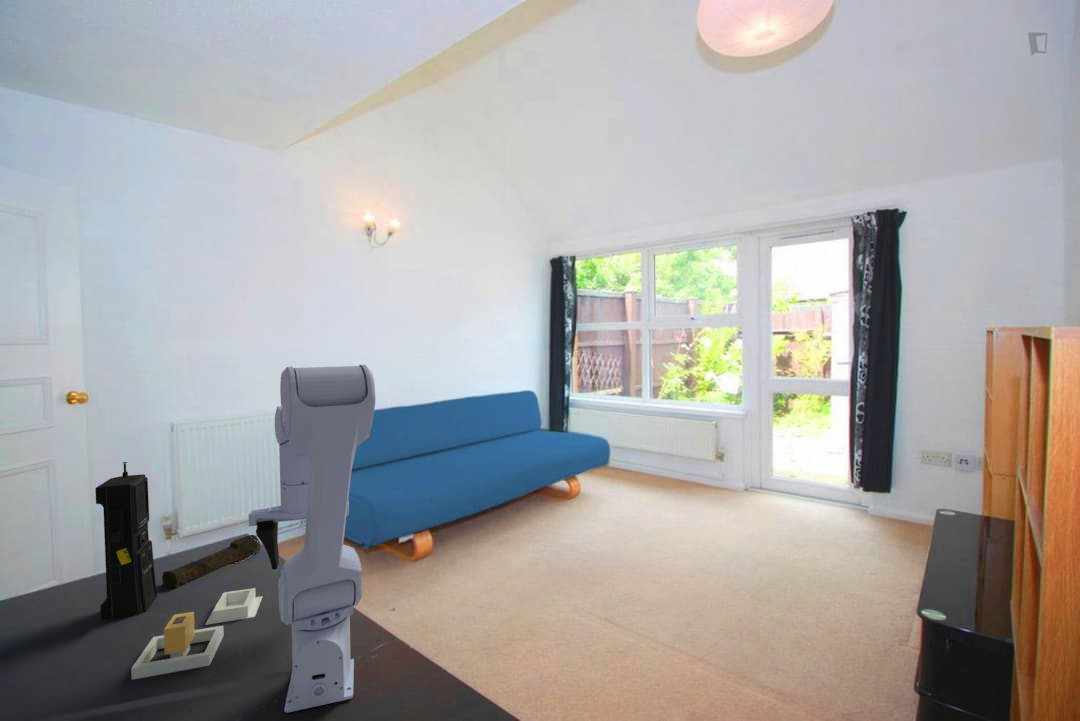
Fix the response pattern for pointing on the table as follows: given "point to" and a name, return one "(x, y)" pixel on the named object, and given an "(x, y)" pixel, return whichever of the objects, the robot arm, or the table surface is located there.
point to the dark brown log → (212, 562)
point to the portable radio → (127, 546)
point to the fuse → (179, 634)
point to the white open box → (235, 606)
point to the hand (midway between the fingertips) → (301, 563)
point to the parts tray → (179, 663)
